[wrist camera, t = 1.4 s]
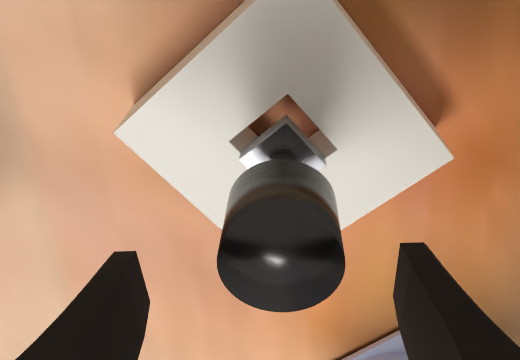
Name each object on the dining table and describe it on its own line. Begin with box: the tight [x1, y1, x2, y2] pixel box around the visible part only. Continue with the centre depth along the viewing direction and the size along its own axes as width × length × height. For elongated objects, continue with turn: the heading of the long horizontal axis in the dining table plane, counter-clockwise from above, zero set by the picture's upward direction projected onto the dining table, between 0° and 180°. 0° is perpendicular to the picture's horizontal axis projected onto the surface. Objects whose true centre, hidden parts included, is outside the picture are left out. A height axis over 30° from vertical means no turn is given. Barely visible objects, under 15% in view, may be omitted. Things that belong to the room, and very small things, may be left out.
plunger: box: [217, 114, 345, 312], centre depth 17 cm, size 4×4×7 cm
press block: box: [114, 0, 454, 230], centre depth 21 cm, size 10×10×3 cm
